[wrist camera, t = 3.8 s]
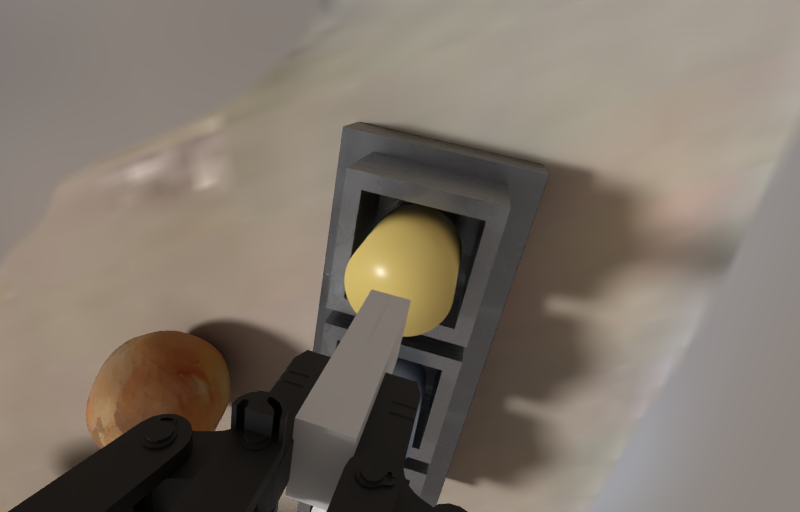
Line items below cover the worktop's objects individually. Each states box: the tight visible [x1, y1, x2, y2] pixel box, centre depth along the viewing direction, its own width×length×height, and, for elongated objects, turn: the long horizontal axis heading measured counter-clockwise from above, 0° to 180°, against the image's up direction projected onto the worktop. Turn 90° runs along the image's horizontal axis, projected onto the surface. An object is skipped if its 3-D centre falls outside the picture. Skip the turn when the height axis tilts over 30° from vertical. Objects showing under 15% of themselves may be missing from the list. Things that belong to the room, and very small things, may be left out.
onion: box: [86, 331, 230, 449], centre depth 34 cm, size 10×10×10 cm
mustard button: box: [344, 204, 462, 337], centre depth 22 cm, size 5×5×5 cm
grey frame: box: [297, 122, 549, 512], centre depth 29 cm, size 12×28×8 cm, turn 169°
